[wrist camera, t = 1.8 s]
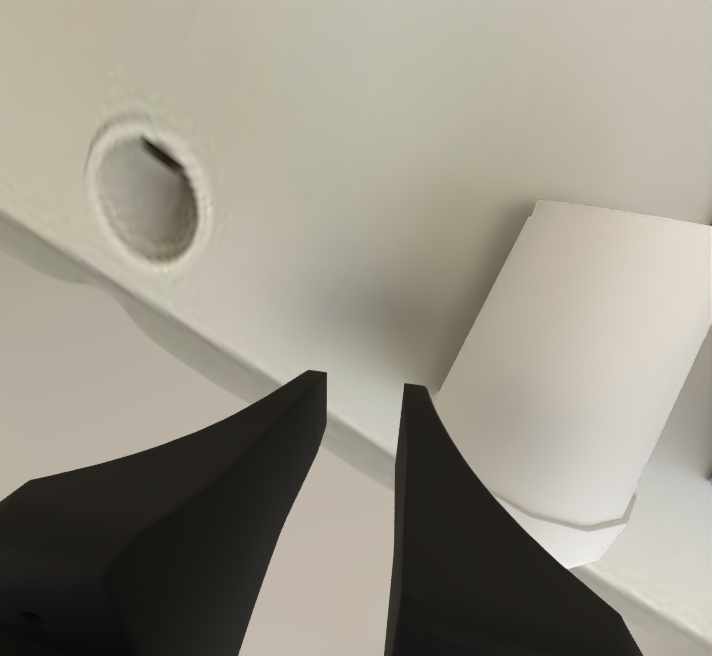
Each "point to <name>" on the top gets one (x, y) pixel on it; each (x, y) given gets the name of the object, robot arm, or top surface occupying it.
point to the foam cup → (579, 368)
